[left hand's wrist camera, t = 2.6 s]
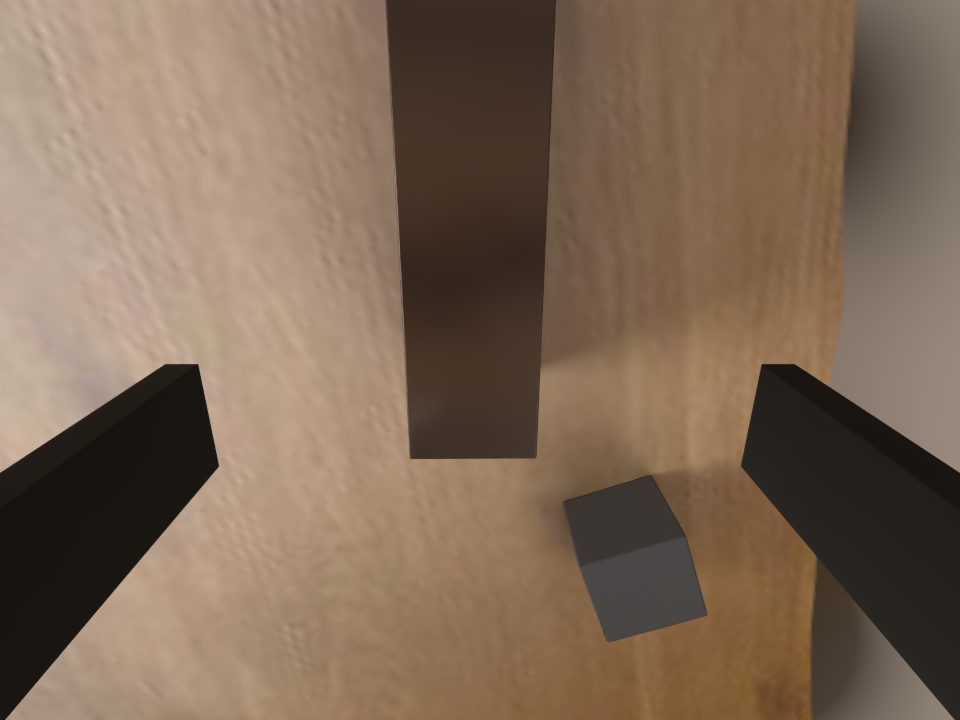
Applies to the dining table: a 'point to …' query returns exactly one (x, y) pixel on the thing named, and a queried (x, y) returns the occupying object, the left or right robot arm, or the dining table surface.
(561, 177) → the dining table surface
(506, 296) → the plank
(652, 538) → the grey block
